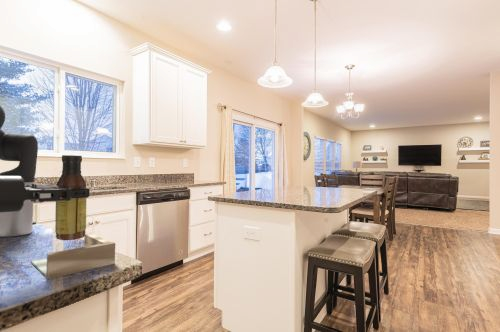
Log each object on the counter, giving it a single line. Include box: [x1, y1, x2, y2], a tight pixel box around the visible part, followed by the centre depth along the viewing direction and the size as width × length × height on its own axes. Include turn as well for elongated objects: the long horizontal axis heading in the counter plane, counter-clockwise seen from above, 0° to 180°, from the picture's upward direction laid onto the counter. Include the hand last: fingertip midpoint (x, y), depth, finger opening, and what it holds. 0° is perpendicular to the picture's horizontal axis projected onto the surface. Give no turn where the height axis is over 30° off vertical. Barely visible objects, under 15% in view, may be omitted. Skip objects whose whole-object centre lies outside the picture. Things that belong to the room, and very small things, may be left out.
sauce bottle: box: [54, 154, 87, 241], centre depth 66 cm, size 6×6×20 cm
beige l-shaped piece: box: [30, 232, 116, 280], centre depth 67 cm, size 14×14×5 cm
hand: (83, 191), depth 68 cm, fingers closed on sauce bottle, 6 cm apart
